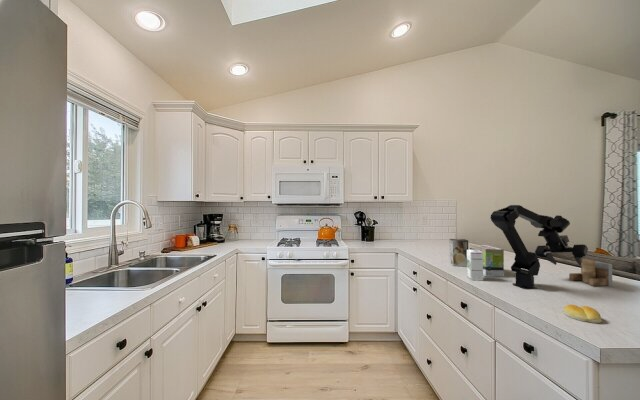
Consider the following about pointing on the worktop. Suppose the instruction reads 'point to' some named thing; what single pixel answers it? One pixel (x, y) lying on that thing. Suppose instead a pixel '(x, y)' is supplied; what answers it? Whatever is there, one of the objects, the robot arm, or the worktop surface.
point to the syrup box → (475, 265)
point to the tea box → (491, 260)
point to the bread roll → (582, 313)
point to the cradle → (600, 279)
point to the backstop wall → (606, 267)
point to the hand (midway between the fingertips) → (567, 264)
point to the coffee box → (458, 252)
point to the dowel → (588, 270)
